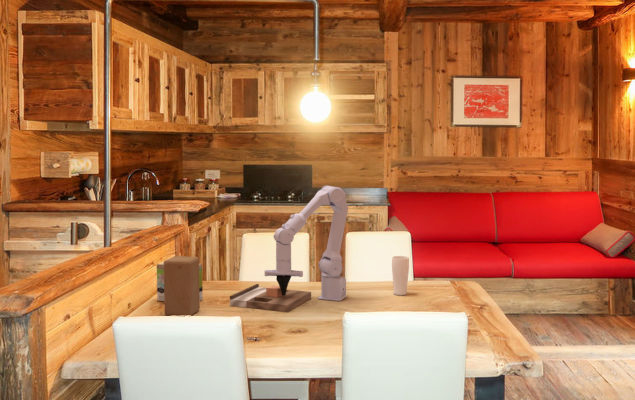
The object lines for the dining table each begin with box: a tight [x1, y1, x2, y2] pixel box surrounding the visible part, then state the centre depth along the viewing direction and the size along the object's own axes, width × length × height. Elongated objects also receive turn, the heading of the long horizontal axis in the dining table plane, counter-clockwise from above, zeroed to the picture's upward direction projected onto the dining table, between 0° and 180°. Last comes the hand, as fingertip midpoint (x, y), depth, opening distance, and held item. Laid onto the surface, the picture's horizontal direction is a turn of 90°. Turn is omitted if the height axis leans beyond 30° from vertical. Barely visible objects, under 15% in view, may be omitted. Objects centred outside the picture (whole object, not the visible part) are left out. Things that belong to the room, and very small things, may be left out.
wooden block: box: [162, 255, 201, 316], centre depth 233 cm, size 10×10×20 cm
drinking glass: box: [391, 255, 410, 296], centre depth 260 cm, size 7×7×15 cm
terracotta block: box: [265, 285, 282, 297], centre depth 250 cm, size 5×5×3 cm
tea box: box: [156, 262, 204, 302], centre depth 251 cm, size 15×10×15 cm, turn 62°
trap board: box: [229, 283, 312, 313], centre depth 249 cm, size 24×22×4 cm
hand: (283, 294), depth 247 cm, fingers closed
